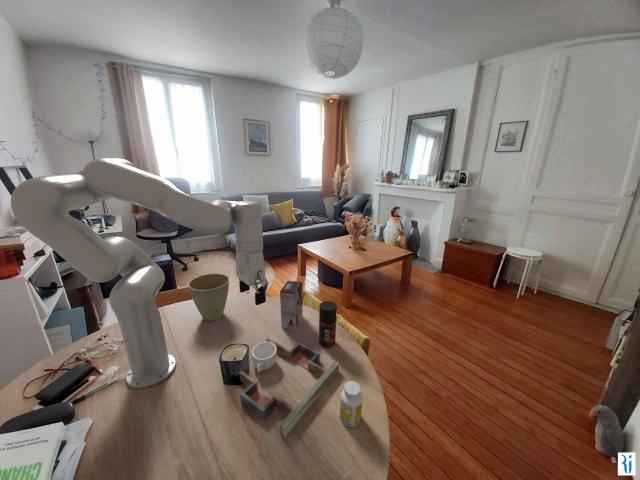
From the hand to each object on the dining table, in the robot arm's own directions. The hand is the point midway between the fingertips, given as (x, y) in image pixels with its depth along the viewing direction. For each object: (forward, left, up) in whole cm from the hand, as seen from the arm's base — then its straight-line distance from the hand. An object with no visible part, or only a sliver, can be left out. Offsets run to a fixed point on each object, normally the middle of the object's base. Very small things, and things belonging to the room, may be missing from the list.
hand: (252, 297), depth 79 cm
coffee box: (-2, +21, -22) cm, 30 cm away
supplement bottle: (+36, -1, -22) cm, 42 cm away
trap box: (+13, -2, -22) cm, 25 cm away
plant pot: (-31, +5, -22) cm, 38 cm away
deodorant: (+16, +19, -22) cm, 33 cm away
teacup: (+6, -2, -22) cm, 23 cm away
